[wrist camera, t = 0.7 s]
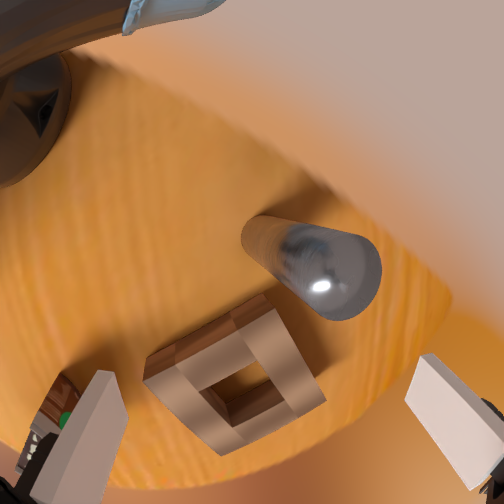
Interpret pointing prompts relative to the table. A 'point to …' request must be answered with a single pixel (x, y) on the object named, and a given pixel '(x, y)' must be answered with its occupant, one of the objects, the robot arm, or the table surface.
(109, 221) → the table surface
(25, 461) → the food container
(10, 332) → the table surface
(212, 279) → the table surface
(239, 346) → the square block with hole
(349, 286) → the peg
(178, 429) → the table surface
